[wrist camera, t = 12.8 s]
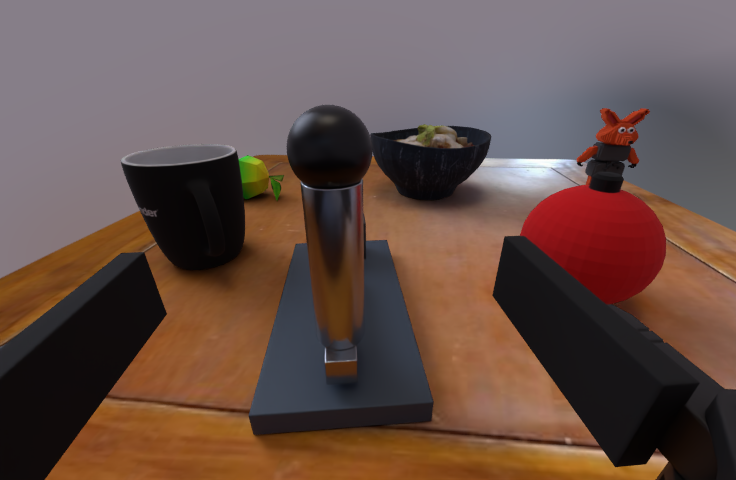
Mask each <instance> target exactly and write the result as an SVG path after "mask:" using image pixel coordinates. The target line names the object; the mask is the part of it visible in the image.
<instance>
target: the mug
mask: <svg viewBox="0 0 736 480" xmlns="http://www.w3.org/2000/svg"><path fill="white" fill-rule="evenodd" d="M121 164H122V167H123V171H124V174H125V176H126V179H127V182H128V184H129V187H130V189H131V191H132V194H133V196H134V198H135V201H136V203H137V205H138V207H139V209H140V212H141V214H142V216H143V218H144V220H145V222H146V224H147V226H148V228H149V230H150V232H151V234H152V235H153V237H154V239H155V241H156V242H157V244H158V246H159V247H160V249H161V250H162V252H163V253H164V255H165V256H166V257H167V258H168V259H169V260H170V261H171V262H172V263H173V264H174V265H176V266H177V267H180V268H182V269H187V270H201V269H208V268H212V267H216V266H219V265H222V264H224V263H227V262H229V261H230V260H232V259H234V258H235V257H236V256H237V255H238V254H239V253H240V251H241V249H242V247H243V243H244V237H245V210H244V197H243V187H242V179H241V172H240V165H239V160H238V155H237V151H236V149H235V148H233V147H231V146H225V145H213V144H201V145H181V146H172V147H163V148H156V149H150V150H145V151H140V152H136V153H133V154H130V155H128V156H125V157H124V158H122V160H121Z"/></svg>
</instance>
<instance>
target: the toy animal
mask: <svg viewBox="0 0 736 480" xmlns="http://www.w3.org/2000/svg"><path fill="white" fill-rule="evenodd" d="M648 110H649V109H640V110H638V111H634V112H633V113H631V114H630V115H629V116H627V117H626V118H624V119H623V120H620V119H619V118H618V116H617V115H616V113H615V112H612V111H610V109H605V108H603V109H602V110H600V112H601V114H602V115H601V118H603V121H604V122H605V123H606V126H605V127H603V128H602V129H601V130H600V131H599V132H598V133H597V134H596V138H597V139H598V141H601V142H603V143H599V142H597V143H596V144H594V145H593V147H589V148H588V149H587V150H586V151H585V152H583V154H582V155H581V156H580V157H578V158H577V164H578V165H580V166H583V165H581V163H582V162H585V161H586V160H587V159H589V158H590V157H592V158H594V159H595V160H591V161H589V162H588V164H587V167H586V171H585V172H586V173H587V175H588V179H587V182H586V185H590V182H591V179H592V176H593V175H594V174H596V173H597V172H612V173H617V174H620V175H621V176H622V173H623V170H624V167H625V166H624V164H623V163H622V162H619V161H625V160H626V159H628V161H629V162H631V163H632V165H629V166H628V167H631V168H634V167H635V166H636V164H637V163H638V162H639V159H638V158H637V155H636V153H635V150H634V148H631V147H630V144H633V143H634V142H635V141H636V140H637V139H638V133H637V131H636V130H635V127H634V125H636V124H638V122H640V121H642V119H644V117H645V115H647V114H648V113H649V112H650V111H648ZM633 165H634V166H633Z"/></svg>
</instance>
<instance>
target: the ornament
mask: <svg viewBox="0 0 736 480" xmlns="http://www.w3.org/2000/svg"><path fill="white" fill-rule="evenodd" d="M623 180H624V179H623V177H622V176H621V175H620V174H617V173H612V172H597V173H596V174H594V175H593V176H592V179H591V182H590V185H581V186H576V187H572V188H567V189H564V190H562V191H559V192H557V193H555V194H552V195H550V196H549V197H547V198H546V199H544V200H543V201H542V202H540V203H539V204H538V205H537V206H536V207H535V208H534V209H533V210H532V211H531V212H530V214H529V216H528V217H527V219H526V220H525V222H524V225H523V228H522V230H521V234H520V236H525V237H526V238H527V239H529V240H530V241H531V242H532V243H533V244H535V245H536V246H537V247H538V248H539V249H541V250H542V251H543V252H544V253H545V254H547V255H548V256H549V257H550V258H551V259H553V260H554V261H555V262H556V263H557V264H559V265H560V266H561V267H562V268H563V269H565V270H566V271H567V272H568V273H569V274H571V275H572V276H573V277H574V278H575V279H577V280H578V281H579V282H580V283H581V284H583V285H584V286H585V287H586V288H587V289H589V290H590V291H591V292H592V293H593V294H595V295H596V296H597V297H598V298H599V299H601V300H602V301H603V302H604V303H605V304H613V303H617V302H621V301H624V300H626V299H628V298H630V297H632V296H634V295H636V294H638V293H639V292H641V291H642V290H644V289H645V288H646V287H647V286H648V285H649V284H650V283H651V282H652V281H653V280H654V279H655V277H656V276H657V274H658V273H659V271H660V270H661V268H662V265H663V262H664V259H665V256H666V237H665V233H664V229H663V226H662V224H661V223H660V221H659V219H658V218H657V216H656V214H655V213H654V211H653V210H652V209H651V208H650V207H649V206H647V205H646V204H645V203H644V202H643V201H642V200H640V199H639V198H637V197H635V196H634V195H632V194H630V193H628V192H626V191H623V190H620V189H621V186H622V183H623Z"/></svg>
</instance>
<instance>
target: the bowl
mask: <svg viewBox="0 0 736 480" xmlns="http://www.w3.org/2000/svg"><path fill="white" fill-rule="evenodd" d="M370 136H371V143H372V151H373V155H374V157H375V160H376V162H377V164H378V165H379V167H380V168H381V169H382V171H383V172H384V173H385V175H386V176H387V177H388V178H390V179H391V180H392V181H393V182H394V184H395V186H396V188H397V190H398V192H399V193H400V194H402V195H404V196H406V197H410V198H414V199H422V200H434V199H442V198H446V197H449V196H450V195H451V194H452V193H453V192H454V190H455V189H456V187H457V186H458V185H459V184H461V183H462V182H463V181H465V180H466V179H468V177H469V176H470V175H471V174H472V173H473V172H474V171H475V170H476V169H477V168H478V167H479V166H480V165H481V163H482V162H483V160H484V159H485V157H486V155H487V152H488V149H489V145H490V140H491V135H490V134H489V133H488V132H486V131H483V130H479V129H475V128H469V127H458V126H432V125H429V126H427V125H425V124H424V125H422V126H419V127H418V128H414V129H405V130H398V131H391V132H384V133H371V135H370Z"/></svg>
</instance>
